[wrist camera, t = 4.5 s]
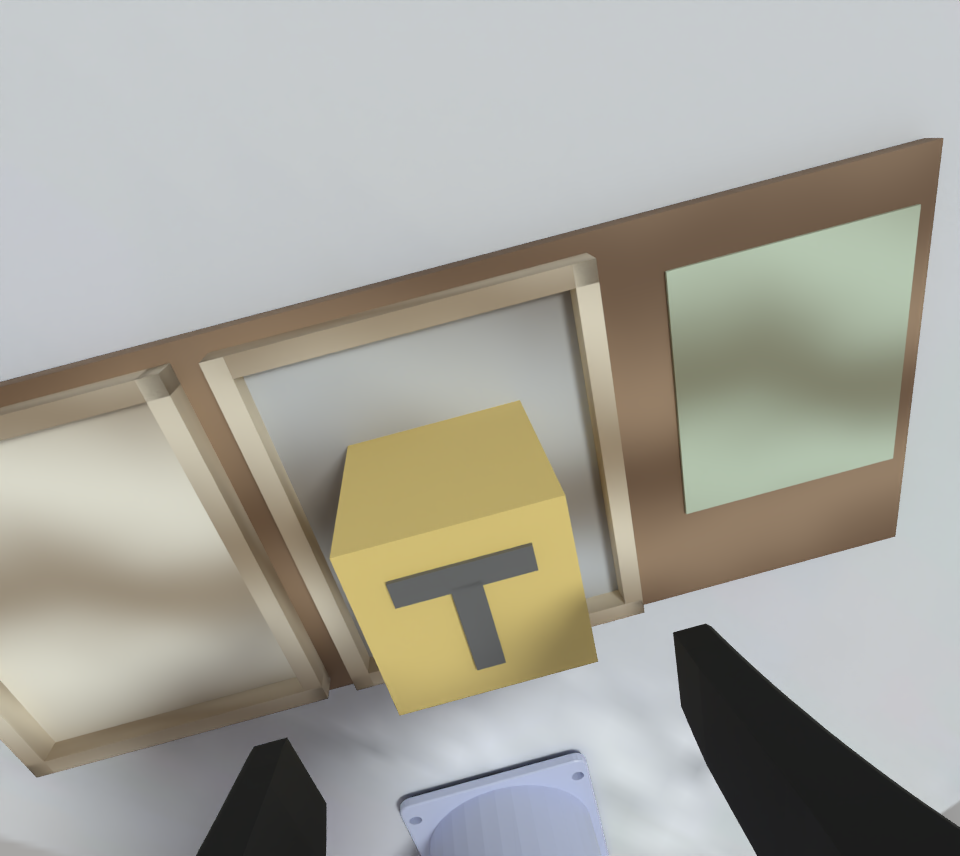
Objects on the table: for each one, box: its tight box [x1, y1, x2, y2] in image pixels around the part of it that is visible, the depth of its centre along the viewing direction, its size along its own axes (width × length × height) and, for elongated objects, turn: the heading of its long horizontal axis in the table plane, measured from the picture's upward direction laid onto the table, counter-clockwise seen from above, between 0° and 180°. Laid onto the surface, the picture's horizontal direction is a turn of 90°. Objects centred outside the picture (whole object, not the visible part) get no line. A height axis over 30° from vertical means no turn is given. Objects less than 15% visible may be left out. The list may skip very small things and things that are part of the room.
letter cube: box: [330, 400, 598, 715], centre depth 15 cm, size 5×5×5 cm
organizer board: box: [0, 138, 943, 777], centre depth 18 cm, size 13×31×1 cm, turn 103°
